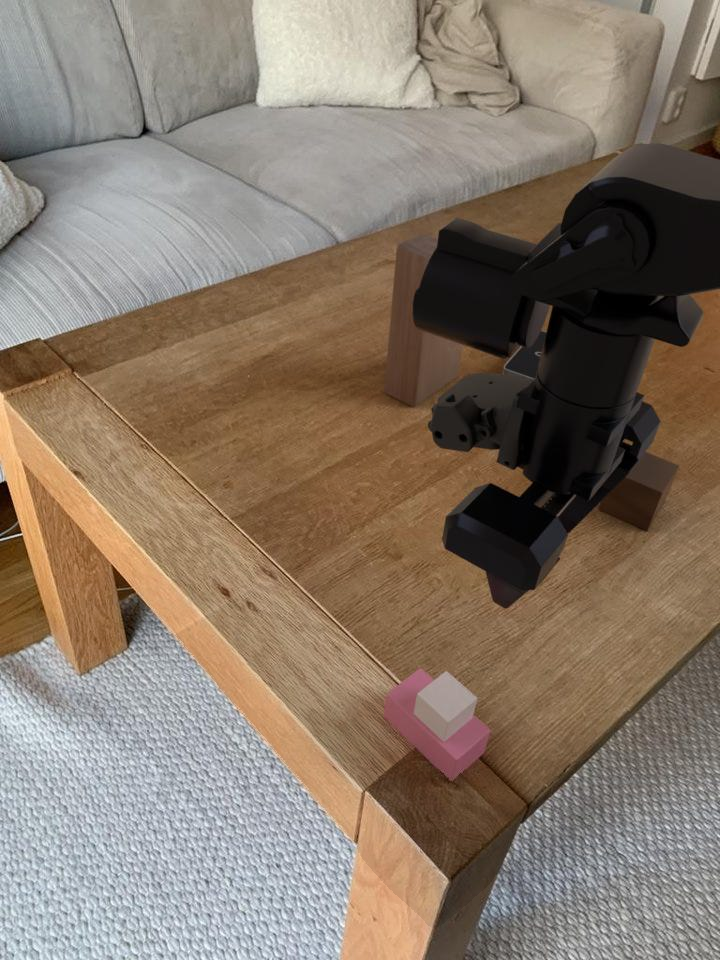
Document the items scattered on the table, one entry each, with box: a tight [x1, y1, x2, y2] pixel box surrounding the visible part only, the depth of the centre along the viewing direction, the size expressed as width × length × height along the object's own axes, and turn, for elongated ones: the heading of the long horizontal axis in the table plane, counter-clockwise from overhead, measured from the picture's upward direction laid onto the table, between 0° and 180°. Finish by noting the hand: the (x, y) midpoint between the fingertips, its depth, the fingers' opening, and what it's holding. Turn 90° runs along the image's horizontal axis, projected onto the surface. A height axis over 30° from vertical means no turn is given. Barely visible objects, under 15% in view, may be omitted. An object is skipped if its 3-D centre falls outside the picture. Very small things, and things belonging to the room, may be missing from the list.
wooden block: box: [383, 233, 464, 408], centre depth 89 cm, size 9×4×18 cm, turn 140°
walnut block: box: [598, 451, 680, 532], centre depth 79 cm, size 5×5×5 cm
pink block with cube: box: [383, 667, 492, 782], centre depth 59 cm, size 7×4×6 cm, turn 42°
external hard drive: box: [501, 329, 547, 379], centre depth 98 cm, size 7×11×2 cm, turn 149°
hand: (533, 565), depth 57 cm, fingers open, 9 cm apart
